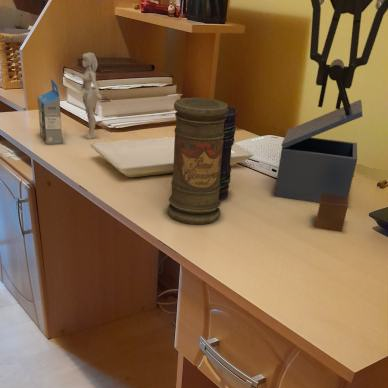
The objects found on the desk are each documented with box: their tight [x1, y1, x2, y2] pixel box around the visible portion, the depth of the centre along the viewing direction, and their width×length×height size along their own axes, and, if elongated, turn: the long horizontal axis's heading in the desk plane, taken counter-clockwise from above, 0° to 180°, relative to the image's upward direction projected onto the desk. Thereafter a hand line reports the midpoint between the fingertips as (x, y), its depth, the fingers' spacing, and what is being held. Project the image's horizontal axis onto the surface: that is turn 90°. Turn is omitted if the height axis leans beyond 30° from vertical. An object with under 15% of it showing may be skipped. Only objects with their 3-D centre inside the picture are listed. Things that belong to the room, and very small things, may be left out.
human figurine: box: [79, 51, 104, 139], centre depth 120 cm, size 12×4×18 cm, turn 29°
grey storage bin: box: [274, 137, 358, 204], centre depth 101 cm, size 14×12×9 cm
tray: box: [89, 135, 254, 178], centre depth 111 cm, size 17×31×4 cm, turn 119°
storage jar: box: [219, 105, 238, 202], centre depth 94 cm, size 10×10×15 cm
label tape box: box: [37, 78, 63, 145], centre depth 118 cm, size 9×4×12 cm, turn 23°
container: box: [167, 97, 229, 225], centre depth 84 cm, size 9×9×18 cm
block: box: [314, 193, 349, 232], centre depth 89 cm, size 4×4×4 cm
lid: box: [281, 58, 363, 149], centre depth 94 cm, size 14×12×9 cm
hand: (329, 106), depth 94 cm, fingers closed on lid, 2 cm apart
